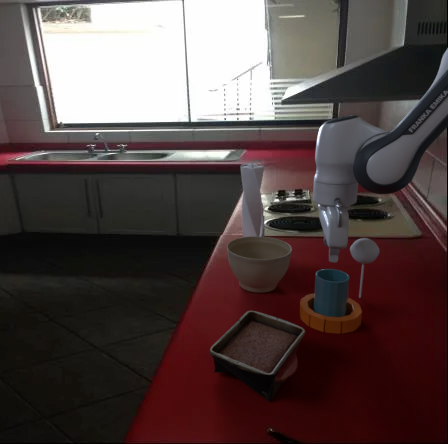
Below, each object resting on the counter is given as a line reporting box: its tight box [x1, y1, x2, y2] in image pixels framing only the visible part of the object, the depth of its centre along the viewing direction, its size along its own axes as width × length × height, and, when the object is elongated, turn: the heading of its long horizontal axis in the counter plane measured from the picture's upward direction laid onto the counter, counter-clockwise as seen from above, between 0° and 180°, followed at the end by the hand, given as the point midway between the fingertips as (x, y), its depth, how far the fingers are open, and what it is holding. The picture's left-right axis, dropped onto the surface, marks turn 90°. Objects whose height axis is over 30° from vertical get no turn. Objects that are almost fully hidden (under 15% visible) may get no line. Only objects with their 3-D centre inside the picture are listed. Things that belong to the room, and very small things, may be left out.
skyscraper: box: [240, 159, 265, 237], centre depth 134 cm, size 8×8×28 cm
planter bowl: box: [226, 236, 293, 294], centre depth 108 cm, size 16×16×11 cm
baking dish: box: [209, 310, 306, 403], centre depth 76 cm, size 14×18×10 cm
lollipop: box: [349, 237, 380, 299], centre depth 98 cm, size 6×6×15 cm
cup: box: [312, 268, 351, 317], centre depth 92 cm, size 7×7×10 cm
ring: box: [299, 293, 363, 335], centre depth 92 cm, size 12×12×3 cm
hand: (330, 252), depth 94 cm, fingers open, 8 cm apart
